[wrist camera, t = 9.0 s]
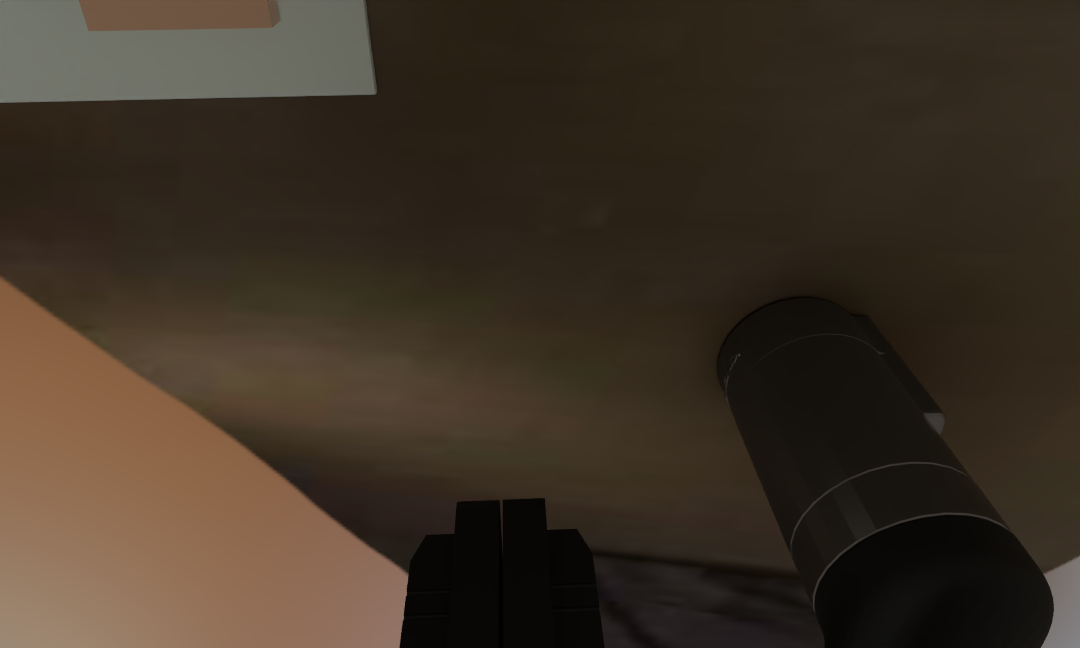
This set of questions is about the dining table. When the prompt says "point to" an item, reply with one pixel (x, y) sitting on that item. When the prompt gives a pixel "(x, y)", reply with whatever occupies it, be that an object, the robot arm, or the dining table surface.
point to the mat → (184, 56)
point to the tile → (178, 14)
